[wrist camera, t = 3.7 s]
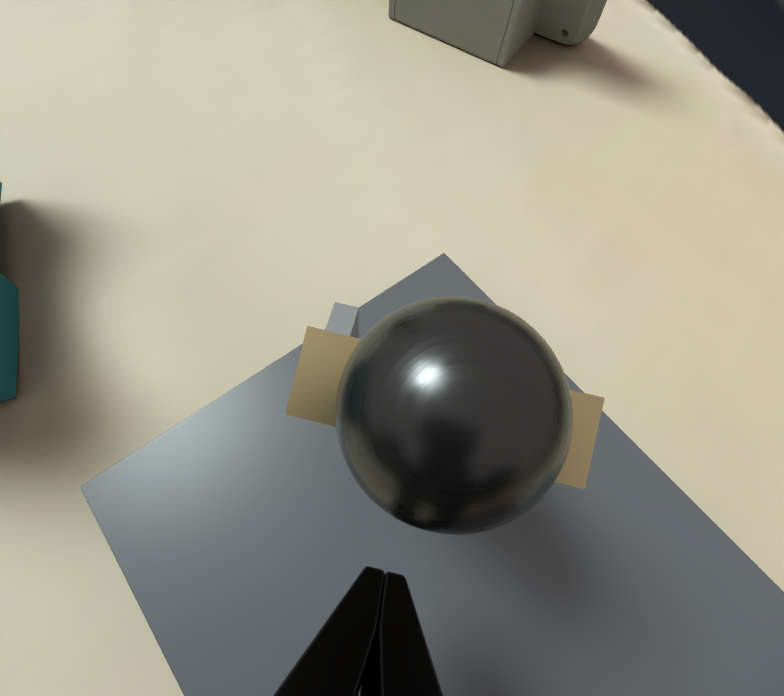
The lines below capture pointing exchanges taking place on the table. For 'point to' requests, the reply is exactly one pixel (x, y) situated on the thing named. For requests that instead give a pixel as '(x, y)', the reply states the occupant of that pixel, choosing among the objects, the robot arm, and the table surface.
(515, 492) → the brass lever
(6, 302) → the teal curved cradle
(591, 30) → the digital clock
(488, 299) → the control panel
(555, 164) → the table surface
